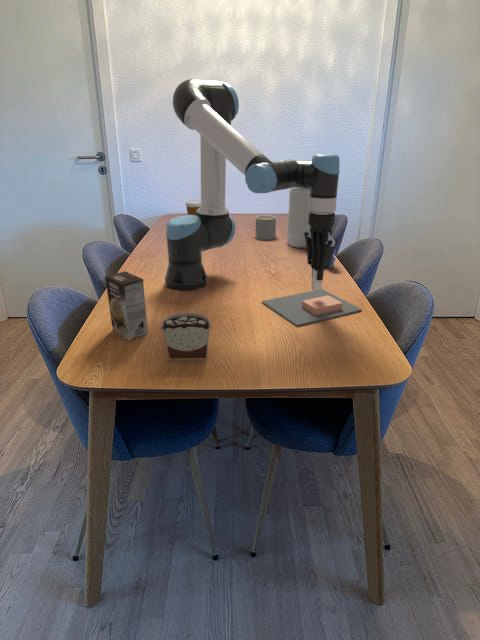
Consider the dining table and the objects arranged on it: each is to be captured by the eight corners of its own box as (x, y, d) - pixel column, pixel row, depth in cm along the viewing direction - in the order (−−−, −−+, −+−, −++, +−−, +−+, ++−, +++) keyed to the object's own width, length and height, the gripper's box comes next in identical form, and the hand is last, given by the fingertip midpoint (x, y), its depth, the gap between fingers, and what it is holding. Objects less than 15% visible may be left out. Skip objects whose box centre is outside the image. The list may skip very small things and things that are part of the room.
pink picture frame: (328, 295, 138) (342, 302, 132) (327, 301, 139) (341, 309, 133) (302, 300, 134) (315, 308, 128) (301, 307, 135) (315, 315, 129)
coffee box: (111, 330, 122) (103, 275, 115) (131, 323, 126) (125, 270, 119) (128, 340, 116) (121, 284, 109) (149, 333, 120) (143, 278, 113)
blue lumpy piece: (313, 262, 179) (316, 233, 174) (330, 261, 180) (332, 233, 175) (320, 271, 169) (322, 240, 164) (337, 270, 169) (340, 240, 164)
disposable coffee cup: (184, 222, 248) (183, 201, 243) (201, 221, 250) (200, 200, 245) (188, 226, 240) (187, 203, 234) (205, 224, 242) (204, 203, 237)
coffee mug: (276, 239, 212) (277, 219, 208) (256, 240, 212) (257, 219, 207) (272, 233, 224) (273, 213, 220) (253, 233, 224) (253, 214, 219)
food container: (213, 347, 113) (212, 311, 108) (212, 358, 107) (211, 322, 103) (165, 347, 112) (163, 312, 108) (162, 359, 107) (159, 323, 102)
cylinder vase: (285, 247, 200) (287, 191, 189) (289, 240, 211) (291, 187, 200) (312, 249, 197) (316, 192, 187) (315, 242, 208) (318, 188, 198)
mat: (297, 326, 124) (297, 324, 123) (261, 302, 140) (261, 301, 139) (361, 311, 134) (361, 309, 133) (321, 290, 150) (321, 288, 149)
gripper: (347, 214, 120) (339, 293, 130) (318, 207, 131) (313, 280, 141) (325, 217, 117) (319, 298, 127) (298, 209, 128) (294, 284, 138)
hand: (316, 289), depth 134 cm, fingers closed
